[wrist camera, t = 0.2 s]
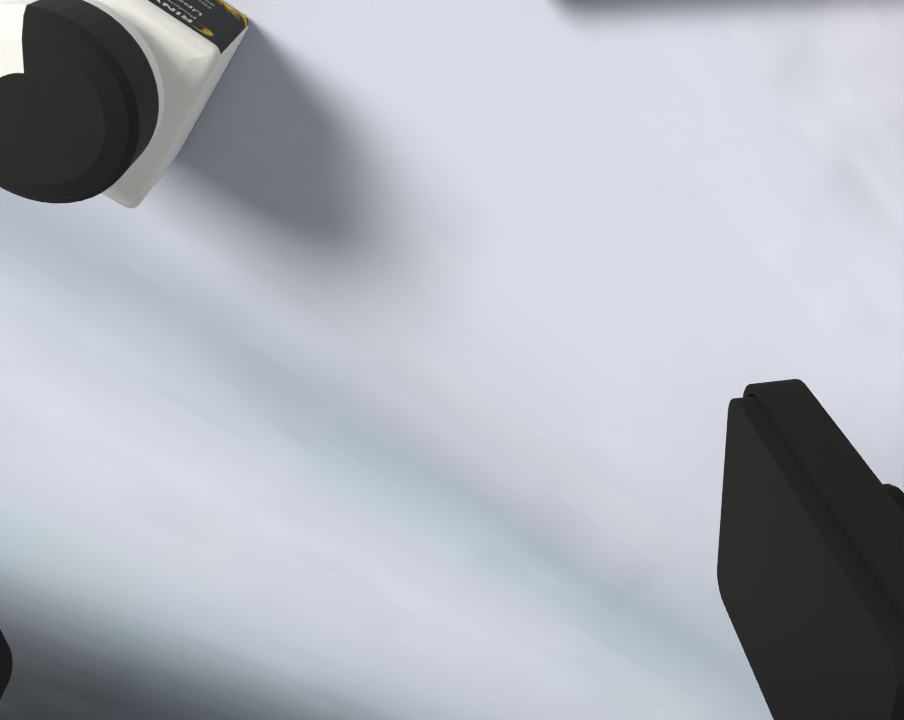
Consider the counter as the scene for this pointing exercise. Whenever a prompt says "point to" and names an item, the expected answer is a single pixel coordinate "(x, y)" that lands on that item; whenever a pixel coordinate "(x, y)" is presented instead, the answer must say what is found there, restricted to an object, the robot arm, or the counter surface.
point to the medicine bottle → (105, 91)
